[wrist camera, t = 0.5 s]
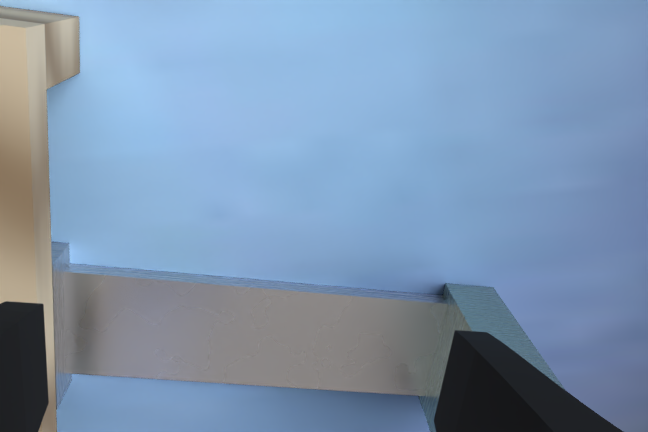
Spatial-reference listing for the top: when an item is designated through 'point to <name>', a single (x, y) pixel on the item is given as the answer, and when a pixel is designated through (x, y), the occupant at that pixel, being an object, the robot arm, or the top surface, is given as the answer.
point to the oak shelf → (30, 160)
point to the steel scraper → (266, 331)
